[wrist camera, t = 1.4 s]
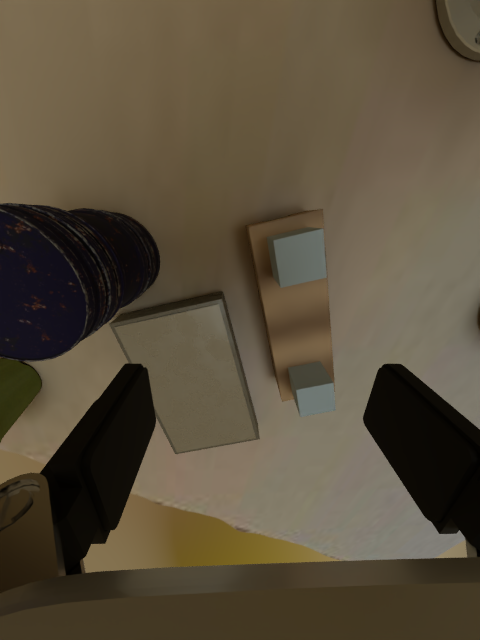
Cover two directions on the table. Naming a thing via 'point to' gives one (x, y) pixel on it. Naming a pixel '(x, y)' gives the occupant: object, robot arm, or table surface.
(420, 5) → the table surface
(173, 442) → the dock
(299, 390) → the block
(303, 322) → the wooden block carrier
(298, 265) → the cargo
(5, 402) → the plant pot
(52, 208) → the storage jar
